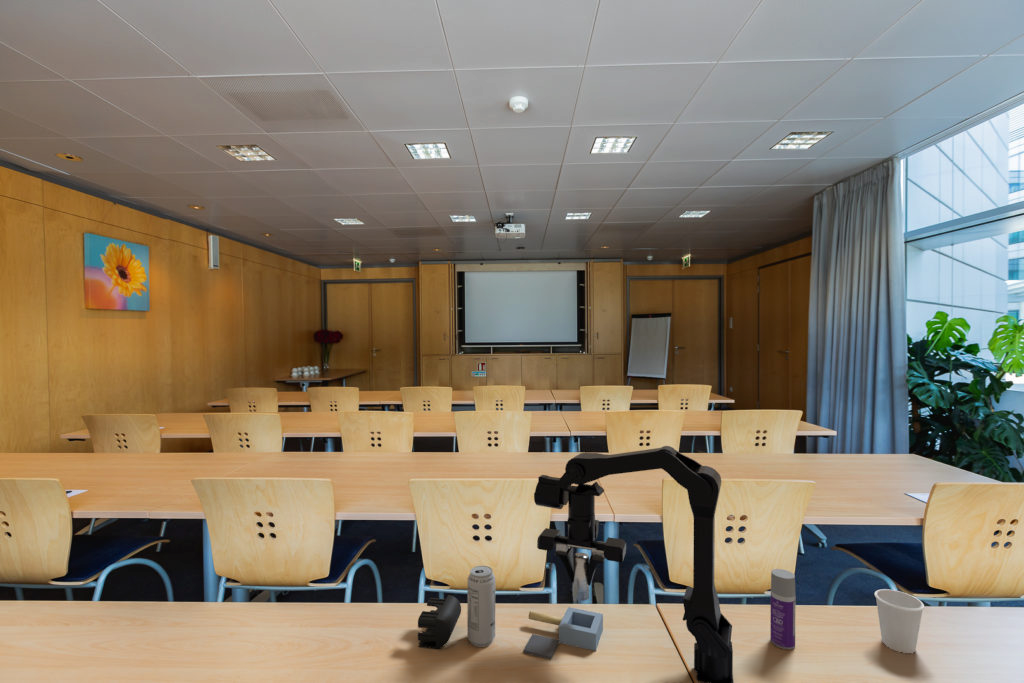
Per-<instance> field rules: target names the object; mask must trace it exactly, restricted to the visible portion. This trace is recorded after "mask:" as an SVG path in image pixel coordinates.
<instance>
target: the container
mask: <svg viewBox="0 0 1024 683" xmlns="http://www.w3.org/2000/svg"><path fill="white" fill-rule="evenodd" d="M770 578H771V579H770V643H771V644H772V643H773V644H774V645H773V644H772V645H773V646H775V645H776V646H777V647H776V646H775V647H776V648H778V647H780V648H779V649H781V648H782V649H781V650H785V649H790V650H789V651H792V650H794V649H795V648H796V576H795V574H794V573H793V572H791V571H789V570H787V569H782V568H773V569H772V570H771V572H770ZM791 649H792V650H791Z"/></svg>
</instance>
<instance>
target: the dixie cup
mask: <svg viewBox="0 0 1024 683" xmlns="http://www.w3.org/2000/svg"><path fill="white" fill-rule="evenodd" d="M874 597H875V598H876V600H875V601H876V606H877V614H878V616H877V617H878V622H879V629H880V636H881V642H882V644H883V643H884V644H885V645H886V646H885V645H884V644H883V645H884V646H885V647H886V648H888V647H889V648H888V649H890V650H892V649H893V650H892V651H894V650H895V652H897V651H898V652H897V653H900V652H903V653H902V654H905V653H912V654H914V653H913V652H915V653H916V651H917V644H918V638H919V632H920V628H921V620H922V615H923V614H922V613H923V610H924V609H925V604H924V603H923V602H922V601H921V600H920V599H918V598H917V597H915V596H913V595H912V594H911V595H910V594H909V593H906V592H903V591H899V590H895V589H888V588H883V589H882V588H881V589H878V590H875V592H874Z"/></svg>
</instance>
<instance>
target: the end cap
mask: <svg viewBox="0 0 1024 683" xmlns="http://www.w3.org/2000/svg"><path fill="white" fill-rule="evenodd" d="M426 607H435V608H436V610H434V609H433V610H432V609H431V610H430V611H426V610H423V611H422V612H421V613H420V615H419V617H418V620H417V628H421V629H425V630H424V631H421V632H417V641H418V647H419V648H421V649H429V650H430V649H433V650H440V649H441V648H442V647H444V646H445V645H446V644H448V643H449V640H450V639H451V636H452V634H453V631H454V630H455V627H456V625H457V623H458V621H459V619H460V616H461V613H462V605H461V603H460V601H459V600H458V599H457V597H455V596H454V595H451V594H448V595H447V597H446V598H436V597H435V598H433V597H430V598H429V599H428V601H427V603H426Z"/></svg>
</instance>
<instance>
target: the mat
mask: <svg viewBox="0 0 1024 683" xmlns="http://www.w3.org/2000/svg"><path fill="white" fill-rule="evenodd" d="M558 643H559V639H556V638H553V637H547V636H544V635H538V634H536V633H535V634H534V633H532V634H531V636H530V637H529V639H528V641H527V643H526V645H525V647H524V648H523V652H522V653H523V654H526V655H531V656H534V657H538V658H542V659H547V660H552V659H553V656H554V654H555V652H556V650H557V647H558V645H559V644H560V643H559V644H558Z"/></svg>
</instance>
